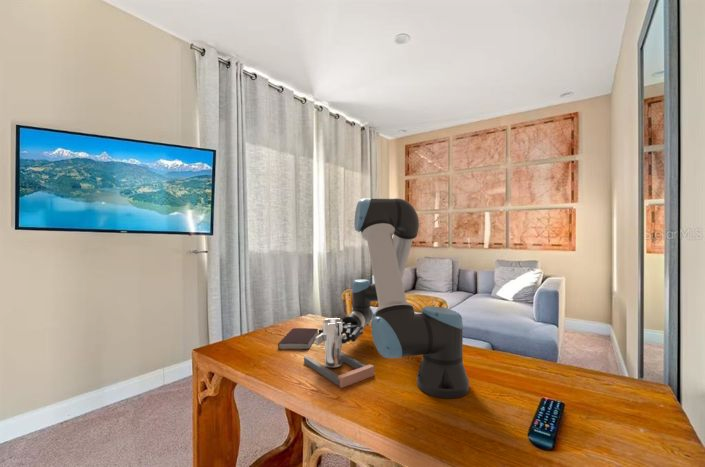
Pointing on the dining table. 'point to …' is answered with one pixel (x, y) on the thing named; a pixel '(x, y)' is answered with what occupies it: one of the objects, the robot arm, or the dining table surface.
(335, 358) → the shiny metal tumbler
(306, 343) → the book
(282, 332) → the dining table surface
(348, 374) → the guide channel
